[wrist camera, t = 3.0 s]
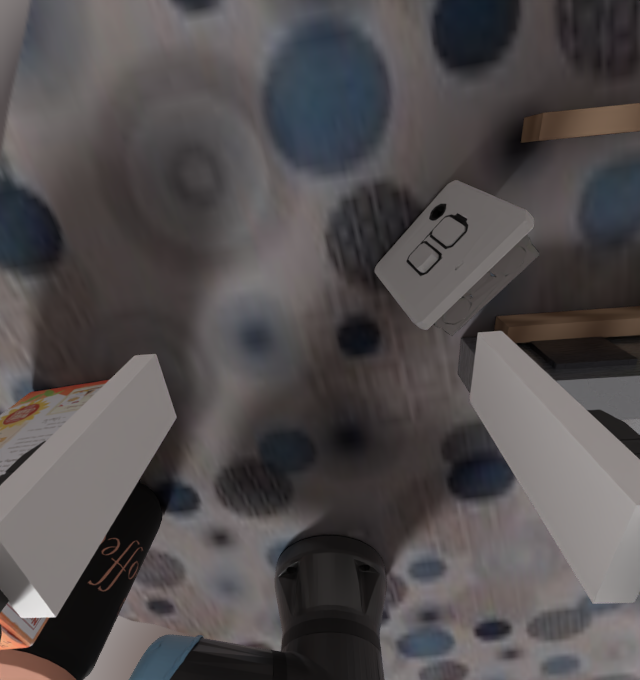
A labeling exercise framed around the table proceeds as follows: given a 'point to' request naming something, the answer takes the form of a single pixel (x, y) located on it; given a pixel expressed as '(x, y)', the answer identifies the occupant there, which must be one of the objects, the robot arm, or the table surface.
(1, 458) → the cracker box
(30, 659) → the coffee jar
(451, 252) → the electrical switch
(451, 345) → the table surface
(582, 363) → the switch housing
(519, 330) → the bay
